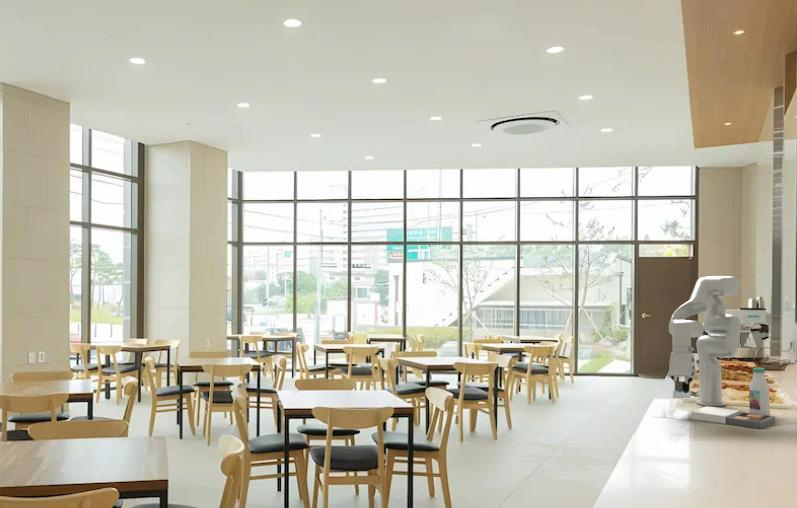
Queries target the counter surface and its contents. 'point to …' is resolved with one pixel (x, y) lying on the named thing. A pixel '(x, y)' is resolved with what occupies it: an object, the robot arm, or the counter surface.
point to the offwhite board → (713, 414)
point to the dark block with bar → (681, 390)
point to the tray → (749, 423)
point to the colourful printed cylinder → (759, 393)
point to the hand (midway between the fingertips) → (682, 391)
